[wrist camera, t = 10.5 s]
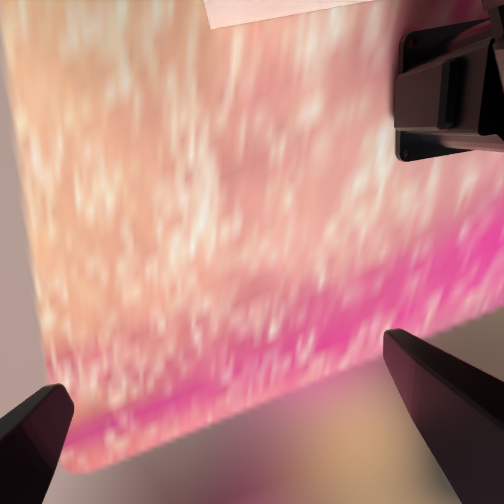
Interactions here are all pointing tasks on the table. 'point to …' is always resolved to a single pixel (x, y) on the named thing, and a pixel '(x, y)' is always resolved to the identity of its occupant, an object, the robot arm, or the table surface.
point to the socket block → (263, 9)
